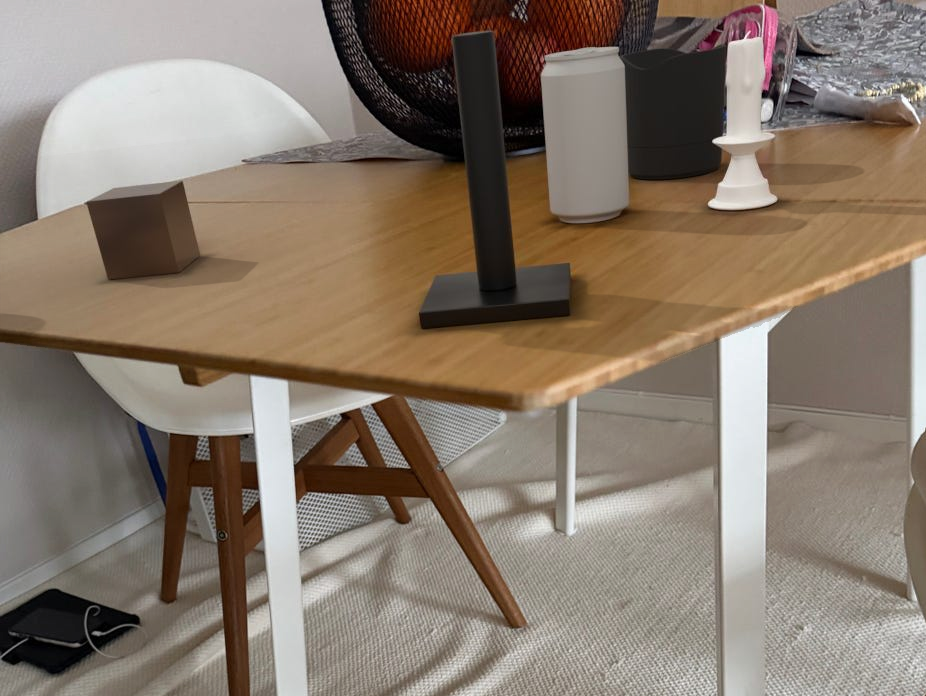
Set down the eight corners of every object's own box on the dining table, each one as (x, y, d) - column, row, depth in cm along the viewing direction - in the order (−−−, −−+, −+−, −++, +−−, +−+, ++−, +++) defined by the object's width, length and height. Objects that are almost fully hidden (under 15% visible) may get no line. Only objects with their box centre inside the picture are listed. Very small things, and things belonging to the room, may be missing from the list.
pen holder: (705, 158, 106) (705, 42, 101) (740, 171, 98) (742, 46, 93) (612, 171, 106) (607, 55, 100) (639, 185, 98) (635, 60, 92)
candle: (781, 195, 87) (787, 24, 81) (771, 209, 83) (776, 30, 77) (715, 198, 89) (715, 31, 83) (701, 212, 85) (701, 38, 79)
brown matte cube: (107, 279, 88) (85, 201, 85) (133, 262, 93) (113, 187, 90) (178, 272, 88) (159, 193, 84) (200, 255, 93) (182, 180, 90)
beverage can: (539, 226, 88) (526, 58, 81) (567, 208, 92) (557, 48, 86) (614, 224, 85) (607, 50, 79) (640, 206, 90) (635, 41, 83)
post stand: (420, 328, 66) (382, 48, 58) (436, 290, 73) (404, 37, 66) (570, 315, 65) (551, 27, 57) (570, 277, 72) (554, 19, 65)
